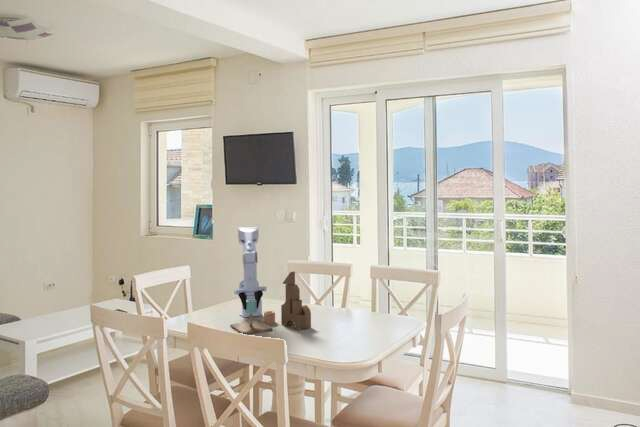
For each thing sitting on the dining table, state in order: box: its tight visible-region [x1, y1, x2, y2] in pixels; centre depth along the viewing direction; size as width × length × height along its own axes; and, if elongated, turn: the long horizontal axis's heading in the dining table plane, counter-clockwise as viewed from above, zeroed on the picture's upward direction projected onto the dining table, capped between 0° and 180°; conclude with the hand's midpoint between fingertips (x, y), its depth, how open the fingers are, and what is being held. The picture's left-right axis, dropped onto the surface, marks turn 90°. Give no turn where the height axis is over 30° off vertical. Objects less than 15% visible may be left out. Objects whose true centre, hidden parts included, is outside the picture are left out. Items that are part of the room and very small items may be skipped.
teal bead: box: [245, 300, 257, 313], centre depth 221 cm, size 5×5×5 cm
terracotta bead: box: [263, 310, 276, 325], centre depth 231 cm, size 5×5×5 cm
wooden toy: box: [280, 271, 312, 331], centre depth 224 cm, size 15×7×25 cm, turn 42°
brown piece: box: [229, 314, 273, 335], centre depth 221 cm, size 14×16×7 cm
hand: (250, 308), depth 221 cm, fingers closed on teal bead, 5 cm apart
